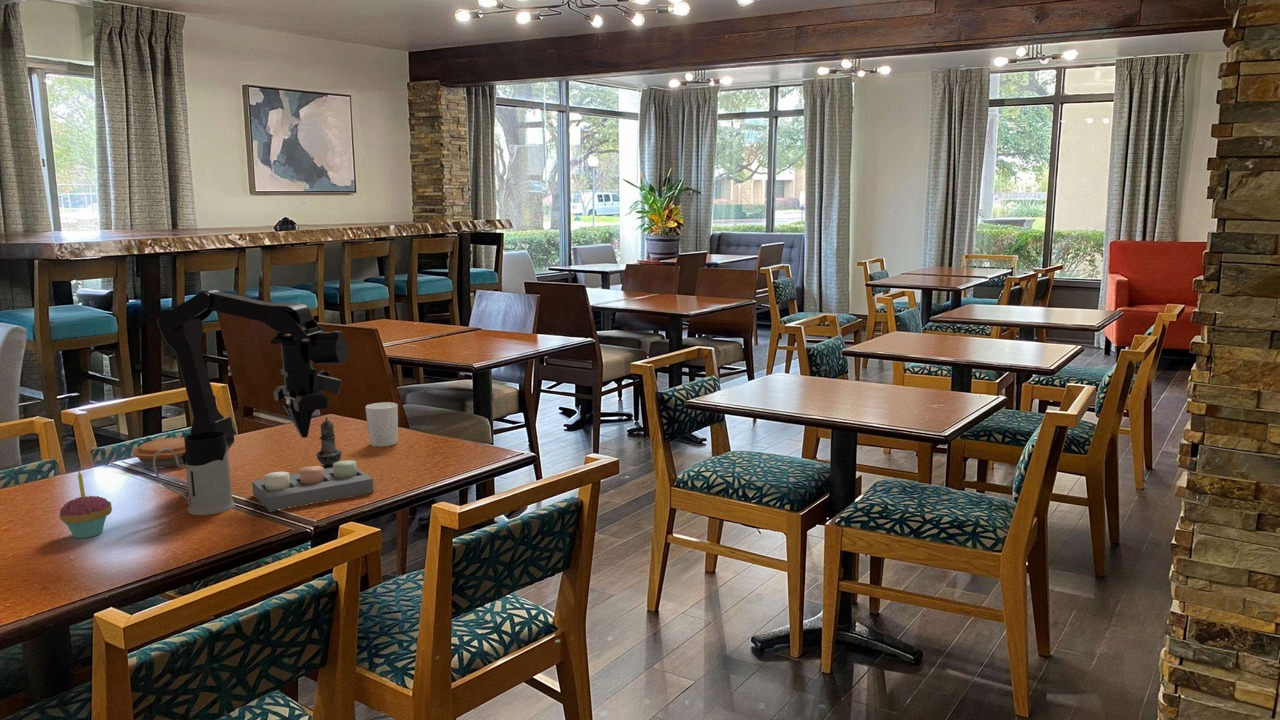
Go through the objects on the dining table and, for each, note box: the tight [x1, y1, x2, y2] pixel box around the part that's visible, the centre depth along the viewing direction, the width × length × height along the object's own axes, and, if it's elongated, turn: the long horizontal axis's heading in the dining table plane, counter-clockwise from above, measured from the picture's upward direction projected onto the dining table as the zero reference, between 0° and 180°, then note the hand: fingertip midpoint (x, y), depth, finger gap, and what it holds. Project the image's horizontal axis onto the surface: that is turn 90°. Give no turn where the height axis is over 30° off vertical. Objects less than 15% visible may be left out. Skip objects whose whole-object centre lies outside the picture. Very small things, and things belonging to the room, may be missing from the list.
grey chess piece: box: [315, 417, 343, 469], centre depth 214 cm, size 6×6×12 cm
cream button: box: [264, 471, 291, 492], centre depth 191 cm, size 5×5×3 cm
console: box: [251, 468, 374, 513], centre depth 195 cm, size 21×14×3 cm, turn 125°
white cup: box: [365, 401, 399, 448], centre depth 236 cm, size 8×8×10 cm
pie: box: [132, 436, 185, 468], centre depth 222 cm, size 16×16×5 cm
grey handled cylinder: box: [153, 431, 236, 516], centre depth 184 cm, size 9×14×15 cm, turn 132°
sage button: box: [333, 460, 358, 480], centre depth 199 cm, size 5×5×3 cm
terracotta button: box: [299, 465, 325, 486], centre depth 195 cm, size 5×5×3 cm
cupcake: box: [58, 469, 113, 539], centre depth 172 cm, size 9×8×12 cm
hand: (304, 437), depth 195 cm, fingers closed
